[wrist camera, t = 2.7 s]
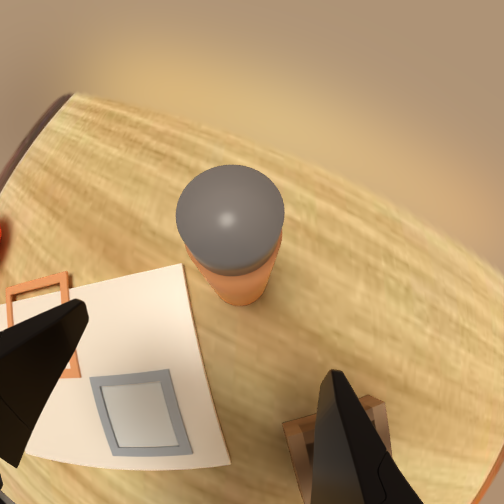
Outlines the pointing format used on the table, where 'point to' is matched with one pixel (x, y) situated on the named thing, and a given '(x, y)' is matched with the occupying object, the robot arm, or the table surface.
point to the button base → (303, 441)
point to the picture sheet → (127, 377)
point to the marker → (232, 229)
